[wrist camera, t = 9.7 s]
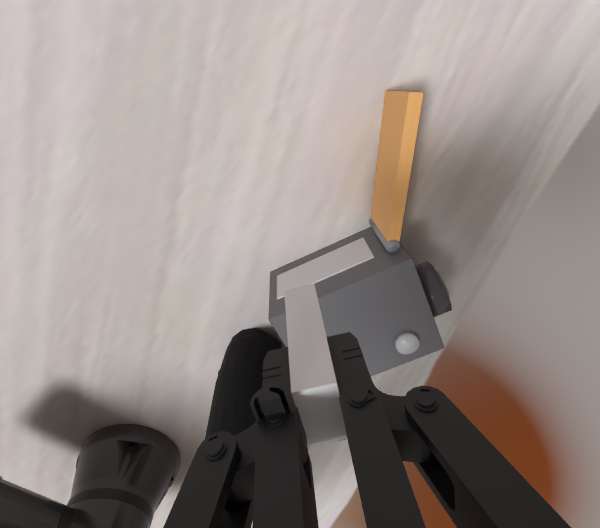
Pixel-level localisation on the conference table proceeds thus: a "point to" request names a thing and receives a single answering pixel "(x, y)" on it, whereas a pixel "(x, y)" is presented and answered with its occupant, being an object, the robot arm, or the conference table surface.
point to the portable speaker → (239, 382)
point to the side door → (394, 164)
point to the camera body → (368, 298)
